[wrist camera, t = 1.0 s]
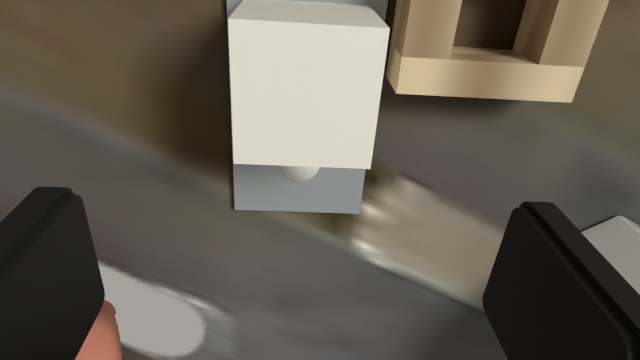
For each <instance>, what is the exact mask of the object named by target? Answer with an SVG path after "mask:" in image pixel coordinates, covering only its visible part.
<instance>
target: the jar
mask: <svg viewBox="0 0 640 360" xmlns="http://www.w3.org/2000/svg"><path fill="white" fill-rule="evenodd" d="M581 233H582V234H583V235H584V236H585V237H586V238H587V239H588V240H589V241H590V243H591V244H592V245H593V246H594V247H595V248H596V249H597V250H598V251H599V252H600V253H601V254H602V255H603V256H604V257H605V258H606V259H607V261H608V262H609V263H610V264H611V265H612V266H613V267H614V268H615V269H616V270H617V271H618V272H619V273H620V274H621V275H622V276H623V278H624V279H625V280H626V281H627V282H628V283H629V284H630V285H631V286H632V287H633V288H634V289H635V290H636V291H637V292H638V293H639V295H640V226H639V225H637V224H636V223H634V222H632V221H630V220H629V219H627V218H625V217H623V216H620V215H619V216H616V217H613V218H611V219H609V220H607V221H604V222H602V223H600V224H597V225H595V226H593V227H591V228H588V229H586V230H584V231H581Z"/></svg>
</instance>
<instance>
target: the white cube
mask: <svg viewBox="0 0 640 360" xmlns="http://www.w3.org/2000/svg"><path fill="white" fill-rule="evenodd" d="M228 32H229V58H230V85H231V111H232V137H233V163H234V164H252V165H278V166H304V167H330V168H355V169H370V168H371V161H372V154H373V147H374V139H375V132H376V125H377V118H378V111H379V103H380V96H381V89H382V82H383V75H384V68H385V60H386V53H387V46H388V39H389V32H390V28H389V27H388V26H387V25H386V23H385V22H384V21H383V20H382V19H381V18H380V17H379V16H378V15H377V14H376V12H375V11H374V10H373V9H372V8H371V7H370V6H366V5H350V4H335V3H319V2H304V1H288V0H243V1H242V2H241V3H240V4H239V6H238V7H237V8H236V9H235V11H234V12H233V13H232V14H231V15H230V17H229V18H228Z"/></svg>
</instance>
